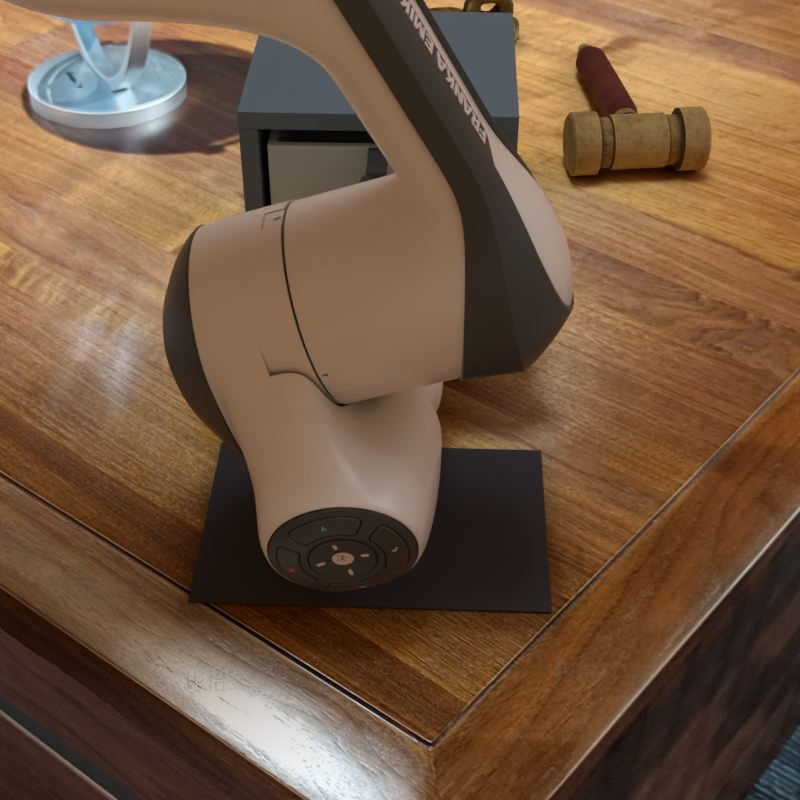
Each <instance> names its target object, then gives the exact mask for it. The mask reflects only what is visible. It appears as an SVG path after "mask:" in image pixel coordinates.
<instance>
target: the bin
mask: <svg viewBox="0 0 800 800" xmlns="http://www.w3.org/2000/svg"><path fill="white" fill-rule="evenodd" d="M267 149H268V163H269V178H270V192H271V205H274V204H277V203H281V202H285V201H289V200H292V199H296V200H298V199H302V198H306V197H309V196H313V195H317V194H320V193H324V192H328V191H332V190H335V189H339V188H343V187H346V186H350V185H354V184H358V183H361V182H365V181H369V180H372V179H376V178H380V177H383V176H387V175H390V174H393V173H395V172H394V171H393V169H392V168H391V166H390V165H389V163H388V162H387V160H386V159H385V157H384V156H383V154H382V153H381V151H380V150H379V148H378V147H377V145H376V144H375V142H374V141H373V139H372V138H371V136H370V135H369V133H368V131H331V130H280V129H271V132H270V136H269V140H268V144H267Z"/></svg>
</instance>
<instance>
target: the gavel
mask: <svg viewBox="0 0 800 800" xmlns="http://www.w3.org/2000/svg"><path fill="white" fill-rule="evenodd" d="M575 68H576V70H577V72H578V74H579V75H580V77H581V79H582V81H583V83H584V85H585V87H586V88H587V91H588V92H589V95H590V96H591V98H592V100H593V101H594V103H595V105H596V107H597V109H598V111H599V113H600V115H601V117H599V114H598V112H597V111H596V110H588V111H587V110H586V111H570V112H568V113H567V115H566V117H565V119H564V123H563V130H562V154H563V161H564V165H565V169H566V171H567V173H568V174H569V176H571V177H578V176H579V177H581V176H596V175H598V173H599V171H600V169H608V170H609V171H612V170H615V171H616V170H637V169H653V168H656V169H657V168H665V167H666V166H672V168H673V169H674V170H675V171H676V172H683V171H685V172H686V171H701V170H704V169H705V167H706V166H707V164H708V162H709V159H710V156H711V150H712V126H711V125H712V124H711V121H710V117H709V114H708V113H707V111H706V109H705V108H704V107H703V106H701V105H699V106H678V107H675V108H673V110H672V112H671V113H669V114H666V113H665V112H663V111H661V112H660V111H659V112H645V113H644V112H641V113H639V112H638V107H637V105H636V103H635V102H634V100H633V99H632V97H631V94H629V92H628V90H627V88H626V87H625V85H624V84H623V81H622V80H621V79H620V77H619V75H618V73H617V72H616V70H615V68H614V67H613V65H612V63H611V62H610V60H609V58H608V57H607V55H606V53H605V52H604V50H603V49H601V48H600V47H598V46H593V45H591V44H588V43H584V42H583V43H581V44H580V45H579V46H578V47H577V52H576V58H575Z"/></svg>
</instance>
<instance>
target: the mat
mask: <svg viewBox="0 0 800 800" xmlns="http://www.w3.org/2000/svg"><path fill="white" fill-rule="evenodd" d="M543 472H544V471H543V459H542V450H539V449H504V448H467V447H465V448H463V447H442V453H441V469H440V481H439V489H438V497H437V504H436V509H435V515H434V519H433V524H432V528H431V532H430V535H429V539H428V542H427V544H426V547H425V550H424V552H423V554H422V555H421V557H420V559H419V560H418V562H417V563H416V564H415V565H414V566H413V567H412V568H411V569H410V570H409V571H408V572H407V573H406V574H404V575H403V576H401V577H400V578H397V579H395V580H392V581H390V582H388V583H385V584H381V585H377V586H373V587H368V588H363V589H357V590H350V591H325V590H317V589H312V588H308V587H305V586H302V585H299V584H297V583H294V582H292V581H290V580H288V579H286V578H285V577H283V576H282V575H280V574H279V573H278V572H277V571H275V570H274V569H273V567H272V566H271V565H270V564H269V562H268V560H267V559H266V557H265V555H264V553H263V550H262V548H261V544H260V540H259V534H258V526H257V514H256V502H255V495H254V490H253V484H252V480H251V477H250V473H249V470H248V466H247V463H246V460H245V458H243V457H242V456H240V455H239V454H237V453H236V452H235V451H233V450H232V449H231V448H230V447H229V446H227V445H226V444H225V443H224V442H223V441H221V444H220V448H219V452H218V457H217V462H216V467H215V472H214V476H213V481H212V486H211V491H210V495H209V499H208V503H207V504H208V505H207V509H206V514H205V519H204V523H203V529H202V533H201V537H200V542H199V547H198V551H197V555H196V556H197V557H196V561H195V567H194V570H193V575H192V580H191V584H190V588H189V589H190V590H189V593H188V599H187V603H194V604H197V603H198V604H227V605H228V604H230V605H259V606H260V605H262V606H263V605H265V606H266V605H268V606H298V607H329V608H330V607H331V608H365V609H367V608H368V609H398V610H399V609H401V610H430V611H431V610H433V611H434V610H435V611H463V612H465V611H467V612H468V611H469V612H497V613H498V612H503V613H533V614H534V613H535V614H538V613H539V614H552V600H551V599H552V598H551V583H550V569H549V568H550V566H549V555H548V554H549V551H548V538H547V536H548V535H547V523H546V522H547V521H546V505H545V490H544V489H545V488H544V474H543Z"/></svg>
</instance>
